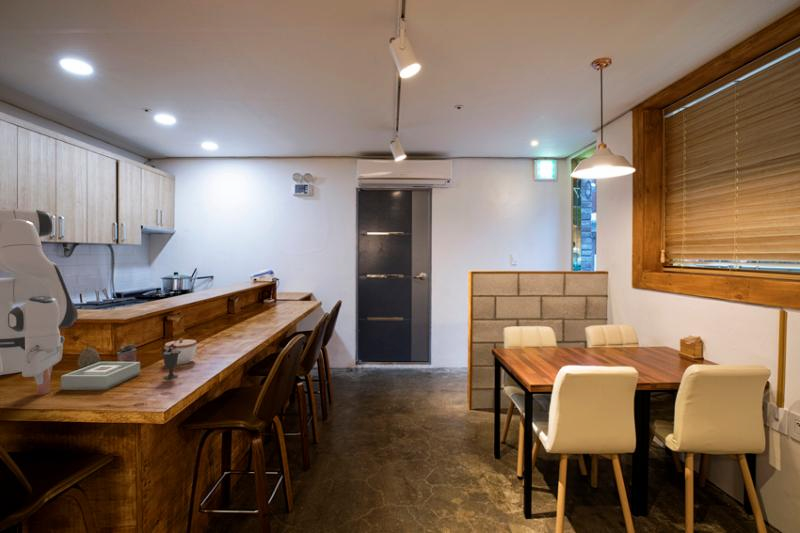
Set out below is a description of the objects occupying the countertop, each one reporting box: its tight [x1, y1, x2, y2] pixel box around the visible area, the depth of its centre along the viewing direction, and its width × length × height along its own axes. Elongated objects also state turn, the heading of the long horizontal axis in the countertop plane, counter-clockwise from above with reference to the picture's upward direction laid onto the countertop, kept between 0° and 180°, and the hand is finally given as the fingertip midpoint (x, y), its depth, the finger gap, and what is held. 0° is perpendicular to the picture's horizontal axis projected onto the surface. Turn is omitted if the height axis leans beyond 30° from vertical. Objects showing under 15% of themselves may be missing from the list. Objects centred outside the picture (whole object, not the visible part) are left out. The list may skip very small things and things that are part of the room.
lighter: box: [116, 343, 138, 362], centre depth 158 cm, size 8×3×10 cm, turn 168°
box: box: [60, 361, 141, 391], centre depth 141 cm, size 16×18×5 cm
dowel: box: [36, 368, 51, 396], centre depth 128 cm, size 3×3×10 cm
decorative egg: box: [77, 346, 101, 369], centre depth 153 cm, size 7×7×10 cm
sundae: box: [160, 339, 180, 380], centre depth 146 cm, size 7×7×15 cm
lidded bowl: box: [164, 337, 198, 365], centre depth 167 cm, size 13×13×11 cm
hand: (43, 381), depth 128 cm, fingers closed on dowel, 3 cm apart
